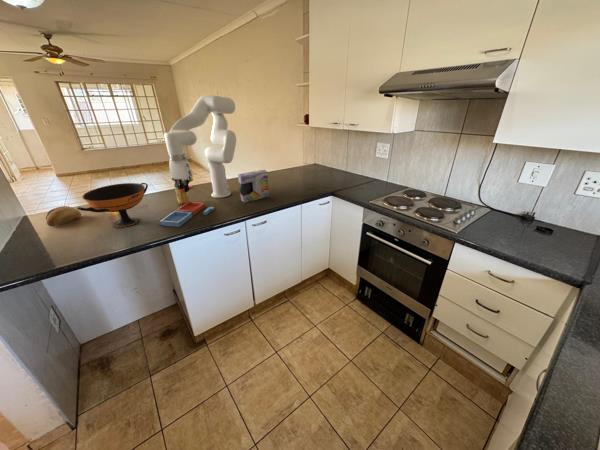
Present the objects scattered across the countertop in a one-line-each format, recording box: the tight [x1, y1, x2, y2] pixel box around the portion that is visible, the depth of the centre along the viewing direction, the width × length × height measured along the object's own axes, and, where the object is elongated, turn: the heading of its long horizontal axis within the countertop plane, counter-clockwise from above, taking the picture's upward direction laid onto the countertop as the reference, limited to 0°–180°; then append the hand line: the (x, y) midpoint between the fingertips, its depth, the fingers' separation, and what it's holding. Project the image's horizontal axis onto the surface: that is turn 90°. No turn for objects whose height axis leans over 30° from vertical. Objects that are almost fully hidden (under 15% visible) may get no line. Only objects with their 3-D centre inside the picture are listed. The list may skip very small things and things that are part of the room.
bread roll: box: [45, 205, 82, 227], centre depth 129 cm, size 10×15×8 cm, turn 163°
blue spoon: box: [202, 206, 215, 216], centre depth 141 cm, size 9×4×2 cm, turn 171°
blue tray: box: [159, 210, 194, 228], centre depth 131 cm, size 13×11×2 cm
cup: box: [76, 182, 149, 228], centre depth 125 cm, size 36×26×18 cm
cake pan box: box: [237, 169, 270, 204], centre depth 155 cm, size 19×5×18 cm, turn 123°
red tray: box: [175, 201, 206, 216], centre depth 143 cm, size 13×11×2 cm
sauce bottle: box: [173, 180, 190, 206], centre depth 148 cm, size 7×6×20 cm
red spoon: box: [180, 185, 194, 193], centre depth 137 cm, size 9×4×2 cm, turn 171°
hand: (185, 191), depth 136 cm, fingers closed on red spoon, 1 cm apart
